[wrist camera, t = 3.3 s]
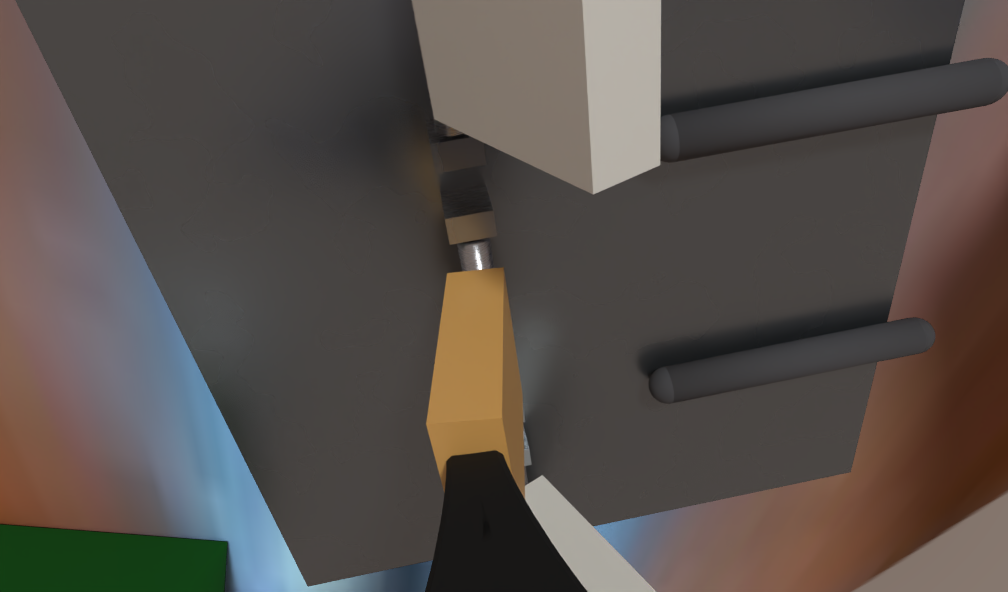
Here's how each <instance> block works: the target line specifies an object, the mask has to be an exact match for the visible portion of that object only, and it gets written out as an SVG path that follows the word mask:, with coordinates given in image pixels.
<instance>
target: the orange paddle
mask: <svg viewBox="0 0 1008 592" xmlns="http://www.w3.org/2000/svg"><path fill="white" fill-rule="evenodd" d="M426 426H427V429H428V433H429V437H430V441H431V444H432V448H433V452H434V456H435V459H436V463H437V467H438V471H439V474H440V478H441V482H442V486H443V490H444V493H445V482H446V461H447V460H448V459H449V458H450V457H451V456H454V455H463V454H471V453H478V452H486V451H493V450H496V451H498V452H500V453H502V454H503V455H504V458H505V460H506V463H507V465H508V467H509V470H510V472H511V474H512V476H513V478H514V480H515V482H516V484H517V486H518V487H519V489H520V491H521V493H522V495H523V497H524V498H525V472H524V432H523V394H522V387H521V380H520V374H519V367H518V360H517V353H516V347H515V340H514V333H513V327H512V320H511V313H510V306H509V300H508V293H507V286H506V279H505V273H504V267H502V268H492V269H482V270H473V271H463V272H454V273H447V277H446V285H445V292H444V299H443V306H442V314H441V321H440V328H439V335H438V342H437V350H436V357H435V364H434V371H433V379H432V386H431V393H430V400H429V407H428V415H427V422H426Z"/></svg>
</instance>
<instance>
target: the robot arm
mask: <svg viewBox="0 0 1008 592" xmlns="http://www.w3.org/2000/svg"><path fill="white" fill-rule="evenodd" d="M425 592H587V590H586V589H585V588H584V586H583V585H582V584H581V582H580V581H579V580H578V578H577V577H576V576H575V574H574V573H573V572H572V570H571V569H570V567H569V566H568V565H567V563H566V562H565V561H564V559H563V558H562V556H561V555H560V554H559V552H558V551H557V549H556V548H555V546H554V545H553V543H552V542H551V540H550V539H549V537H548V536H547V534H546V533H545V531H544V529H543V528H542V526H541V525H540V523H539V522H538V520H537V519H536V517H535V515H534V514H533V512H532V510H531V509H530V507H529V505H528V504H527V502H526V500H525V498H524V497H523V495H522V493H521V491H520V489H519V487H518V486H517V484H516V482H515V480H514V478H513V476H512V474H511V472H510V470H509V467H508V465H507V463H506V460H505V458H504V455H503V454H502V453H500V452H498V451H496V450H493V451H486V452H478V453H471V454H463V455H454V456H451V457H450V458H449V459H448V460H447V461H446V482H445V493H444V501H443V508H442V515H441V521H440V527H439V532H438V537H437V542H436V547H435V552H434V557H433V562H432V566H431V571H430V575H429V578H428V582H427V586H426V590H425Z"/></svg>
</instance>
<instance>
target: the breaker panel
mask: <svg viewBox="0 0 1008 592" xmlns="http://www.w3.org/2000/svg"><path fill="white" fill-rule="evenodd" d="M964 1H965V0H661V114H660V117H662V116H664V115H668V114H674V113H679V112H685V111H690V110H696V109H702V108H707V107H713V106H719V105H724V104H730V103H735V102H741V101H747V100H752V99H758V98H763V97H769V96H775V95H780V94H786V93H791V92H797V91H803V90H808V89H814V88H820V87H825V86H831V85H836V84H842V83H848V82H853V81H859V80H864V79H870V78H876V77H881V76H887V75H893V74H898V73H904V72H909V71H915V70H921V69H926V68H932V67H937V66H943V65H949V63H950V59H951V55H952V51H953V47H954V43H955V39H956V34H957V30H958V26H959V22H960V18H961V14H962V10H963V6H964ZM16 2H17V4H18V6H19V8H20V10H21V12H22V14H23V16H24V18H25V20H26V22H27V24H28V26H29V28H30V30H31V32H32V34H33V36H34V38H35V40H36V42H37V44H38V46H39V48H40V50H41V52H42V54H43V57H44V59H45V61H46V63H47V65H48V67H49V69H50V71H51V73H52V75H53V77H54V79H55V81H56V83H57V85H58V87H59V89H60V91H61V93H62V95H63V97H64V99H65V101H66V103H67V105H68V107H69V109H70V111H71V113H72V115H73V117H74V119H75V121H76V123H77V125H78V127H79V129H80V131H81V133H82V135H83V137H84V139H85V141H86V143H87V145H88V147H89V149H90V151H91V153H92V155H93V157H94V159H95V161H96V163H97V165H98V167H99V169H100V171H101V173H102V175H103V177H104V179H105V181H106V183H107V185H108V187H109V189H110V191H111V193H112V195H113V197H114V199H115V201H116V203H117V205H118V207H119V209H120V211H121V213H122V215H123V217H124V219H125V221H126V223H127V225H128V227H129V229H130V231H131V233H132V235H133V237H134V239H135V241H136V243H137V245H138V247H139V249H140V251H141V253H142V255H143V257H144V259H145V261H146V263H147V265H148V267H149V269H150V271H151V273H152V275H153V277H154V279H155V281H156V283H157V285H158V287H159V289H160V291H161V293H162V295H163V297H164V299H165V301H166V303H167V305H168V307H169V309H170V311H171V313H172V315H173V317H174V319H175V321H176V323H177V325H178V327H179V329H180V331H181V333H182V335H183V337H184V339H185V341H186V343H187V345H188V347H189V349H190V351H191V353H192V355H193V357H194V359H195V361H196V363H197V365H198V367H199V369H200V371H201V373H202V375H203V377H204V379H205V381H206V383H207V385H208V387H209V389H210V391H211V393H212V395H213V397H214V399H215V401H216V403H217V405H218V407H219V409H220V411H221V413H222V415H223V417H224V419H225V421H226V423H227V425H228V427H229V429H230V431H231V433H232V435H233V437H234V439H235V441H236V443H237V445H238V447H239V449H240V451H241V453H242V455H243V457H244V460H245V462H246V464H247V466H248V468H249V470H250V472H251V474H252V476H253V478H254V480H255V482H256V484H257V486H258V488H259V490H260V492H261V494H262V496H263V498H264V500H265V502H266V504H267V506H268V508H269V510H270V512H271V514H272V516H273V518H274V520H275V522H276V524H277V526H278V528H279V530H280V532H281V534H282V536H283V538H284V540H285V542H286V544H287V546H288V548H289V550H290V552H291V554H292V556H293V558H294V560H295V562H296V564H297V566H298V568H299V570H300V572H301V574H302V576H303V578H304V580H305V582H306V584H307V586H312V585H317V584H322V583H326V582H331V581H336V580H341V579H345V578H350V577H355V576H360V575H364V574H369V573H374V572H379V571H383V570H388V569H393V568H398V567H402V566H407V565H412V564H417V563H421V562H426V561H431V560H433V557H434V552H435V547H436V542H437V537H438V532H439V527H440V521H441V515H442V508H443V501H444V490H443V486H442V482H441V478H440V474H439V471H438V467H437V463H436V459H435V456H434V452H433V448H432V444H431V441H430V437H429V433H428V429H427V426H426V422H427V415H428V407H429V400H430V393H431V386H432V379H433V371H434V364H435V357H436V350H437V342H438V335H439V328H440V321H441V314H442V306H443V299H444V292H445V285H446V277H447V273H454V272H463V271H473V270H482V269H492V268H502V267H504V273H505V279H506V286H507V293H508V300H509V306H510V313H511V320H512V327H513V333H514V340H515V347H516V353H517V360H518V367H519V374H520V380H521V387H522V394H523V432H524V472H525V486H526V485H527V484H529V483H530V482H532V481H534V480H535V479H537V478H538V477H540V476H542V475H543V476H544V477H545V478H546V479H547V480H548V481H549V482H550V483H551V484H552V485H553V486H554V487H555V488H556V489H557V490H558V491H559V492H560V494H561V495H562V496H563V497H564V498H565V499H566V500H567V501H568V502H569V503H570V504H571V505H572V506H573V507H574V508H575V509H576V510H577V511H578V512H579V513H580V514H581V515H582V516H583V517H584V518H585V519H586V520H587V521H588V522H589V523H590V524H591V525H592V526H597V525H602V524H606V523H611V522H616V521H621V520H625V519H630V518H635V517H640V516H644V515H649V514H654V513H659V512H663V511H668V510H673V509H678V508H682V507H687V506H692V505H696V504H701V503H706V502H711V501H715V500H720V499H725V498H730V497H734V496H739V495H744V494H749V493H753V492H758V491H763V490H768V489H772V488H777V487H782V486H787V485H791V484H796V483H801V482H806V481H810V480H815V479H820V478H825V477H829V476H834V475H839V474H844V473H848V472H851V468H852V464H853V460H854V456H855V452H856V447H857V443H858V439H859V435H860V431H861V427H862V423H863V419H864V414H865V410H866V406H867V402H868V398H869V394H870V390H871V386H872V381H873V377H874V373H875V369H876V365H877V362H874V363H869V364H865V365H860V366H855V367H850V368H845V369H840V370H835V371H830V372H825V373H820V374H815V375H810V376H805V377H800V378H795V379H790V380H785V381H780V382H775V383H770V384H766V385H761V386H756V387H751V388H746V389H741V390H736V391H731V392H726V393H721V394H716V395H711V396H706V397H701V398H696V399H691V400H686V401H681V402H676V403H671V404H666V403H661V402H659V401H657V400H656V399H655V398H654V397H653V396H652V395H651V393H650V391H649V384H648V383H649V378H650V376H651V374H652V373H653V372H654V371H655V370H656V369H658V368H661V367H664V366H669V365H674V364H679V363H684V362H689V361H694V360H699V359H705V358H710V357H715V356H720V355H725V354H730V353H735V352H740V351H745V350H750V349H755V348H760V347H765V346H770V345H775V344H780V343H785V342H790V341H795V340H800V339H805V338H810V337H815V336H820V335H825V334H830V333H835V332H840V331H845V330H850V329H855V328H860V327H865V326H871V325H876V324H881V323H886V322H887V319H888V315H889V311H890V307H891V303H892V299H893V295H894V291H895V286H896V282H897V278H898V274H899V270H900V266H901V262H902V257H903V253H904V249H905V245H906V241H907V237H908V233H909V229H910V224H911V220H912V216H913V212H914V208H915V204H916V200H917V196H918V191H919V187H920V183H921V179H922V175H923V171H924V167H925V162H926V158H927V154H928V150H929V146H930V142H931V138H932V134H933V129H934V125H935V121H936V117H937V114H936V115H931V116H925V117H920V118H914V119H909V120H903V121H898V122H893V123H887V124H882V125H876V126H871V127H865V128H860V129H854V130H849V131H843V132H838V133H832V134H827V135H821V136H816V137H810V138H805V139H799V140H794V141H788V142H783V143H777V144H772V145H766V146H761V147H755V148H750V149H744V150H739V151H733V152H728V153H722V154H717V155H711V156H706V157H700V158H695V159H689V160H684V161H678V162H672V163H668V162H663V161H660V165H659V166H657V167H655V168H653V169H650V170H648V171H646V172H643V173H641V174H639V175H637V176H634V177H632V178H630V179H628V180H625V181H623V182H621V183H618V184H616V185H614V186H612V187H609V188H607V189H605V190H602V191H600V192H598V193H596V194H591V193H589V192H587V191H585V190H583V189H580V188H578V187H576V186H574V185H572V184H570V183H568V182H566V181H564V180H561V179H559V178H557V177H555V176H553V175H551V174H549V173H547V172H545V171H542V170H540V169H538V168H536V167H534V166H532V165H530V164H528V163H526V162H523V161H521V160H519V159H517V158H515V157H513V156H511V155H509V154H507V153H504V152H502V151H500V150H498V149H496V148H494V147H492V146H490V145H488V144H485V143H483V142H481V141H479V140H477V139H475V138H473V137H471V136H469V135H466V134H464V133H462V132H460V131H458V130H456V129H454V128H452V127H450V126H447V125H445V124H443V123H441V122H439V121H437V120H435V119H434V115H433V110H432V104H431V99H430V94H429V88H428V83H427V78H426V73H425V67H424V62H423V57H422V51H421V46H420V41H419V36H418V30H417V25H416V20H415V14H414V9H413V4H412V0H16Z"/></svg>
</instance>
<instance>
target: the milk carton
mask: <svg viewBox="0 0 1008 592" xmlns="http://www.w3.org/2000/svg"><path fill="white" fill-rule="evenodd" d="M227 544H228V543H227V542H226V541H211V540H198V539H185V538H172V537H159V536H146V535H133V534H120V533H107V532H94V531H81V530H68V529H55V528H42V527H29V526H16V525H3V524H0V592H225V575H226V559H227Z"/></svg>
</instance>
